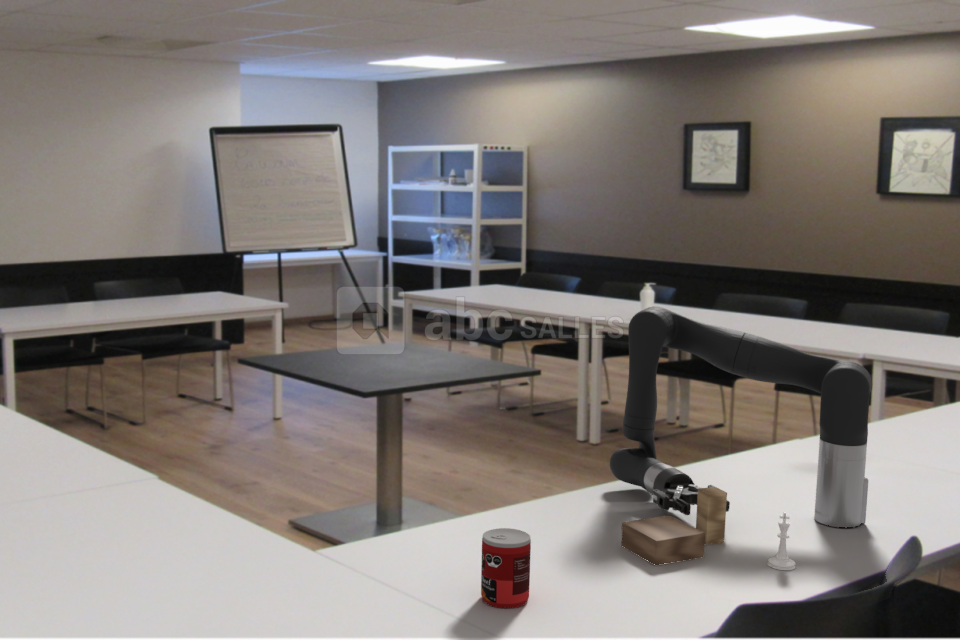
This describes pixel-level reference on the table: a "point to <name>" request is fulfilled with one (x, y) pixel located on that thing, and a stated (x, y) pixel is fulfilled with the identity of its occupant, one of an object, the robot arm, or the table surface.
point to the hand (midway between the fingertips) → (708, 508)
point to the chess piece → (782, 548)
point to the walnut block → (663, 539)
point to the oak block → (711, 514)
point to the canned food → (505, 567)
